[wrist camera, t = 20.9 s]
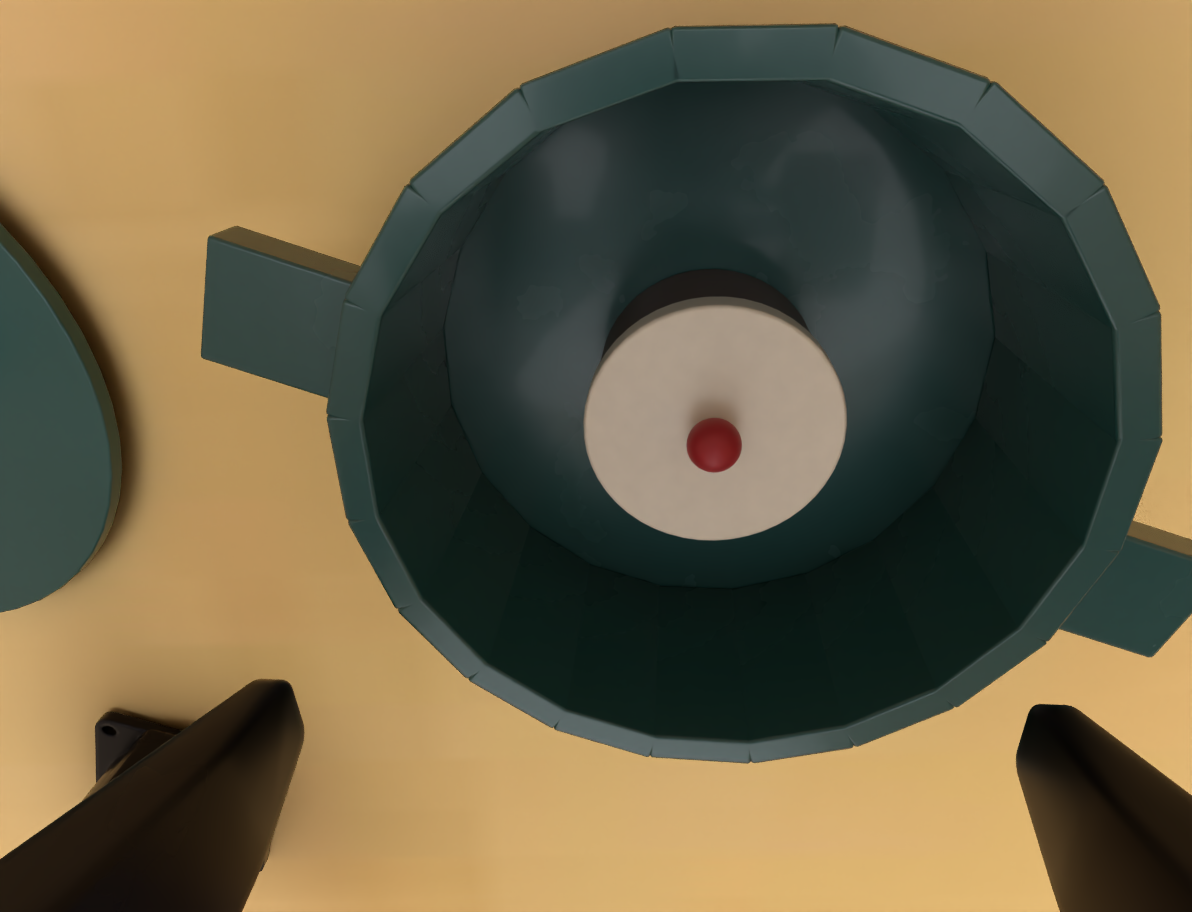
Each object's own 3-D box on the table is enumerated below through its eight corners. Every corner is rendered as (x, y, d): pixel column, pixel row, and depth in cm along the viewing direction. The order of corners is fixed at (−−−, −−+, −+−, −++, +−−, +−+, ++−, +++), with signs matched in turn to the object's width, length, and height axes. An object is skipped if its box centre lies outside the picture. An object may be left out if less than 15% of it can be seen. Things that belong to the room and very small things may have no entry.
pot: (929, 680, 23) (1004, 863, 18) (288, 482, 22) (167, 617, 16) (1268, 210, 16) (1554, 283, 11) (366, -116, 15) (201, -211, 10)
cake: (766, 496, 20) (788, 601, 16) (570, 434, 20) (545, 526, 16) (859, 306, 17) (913, 377, 14) (637, 231, 17) (626, 282, 13)
